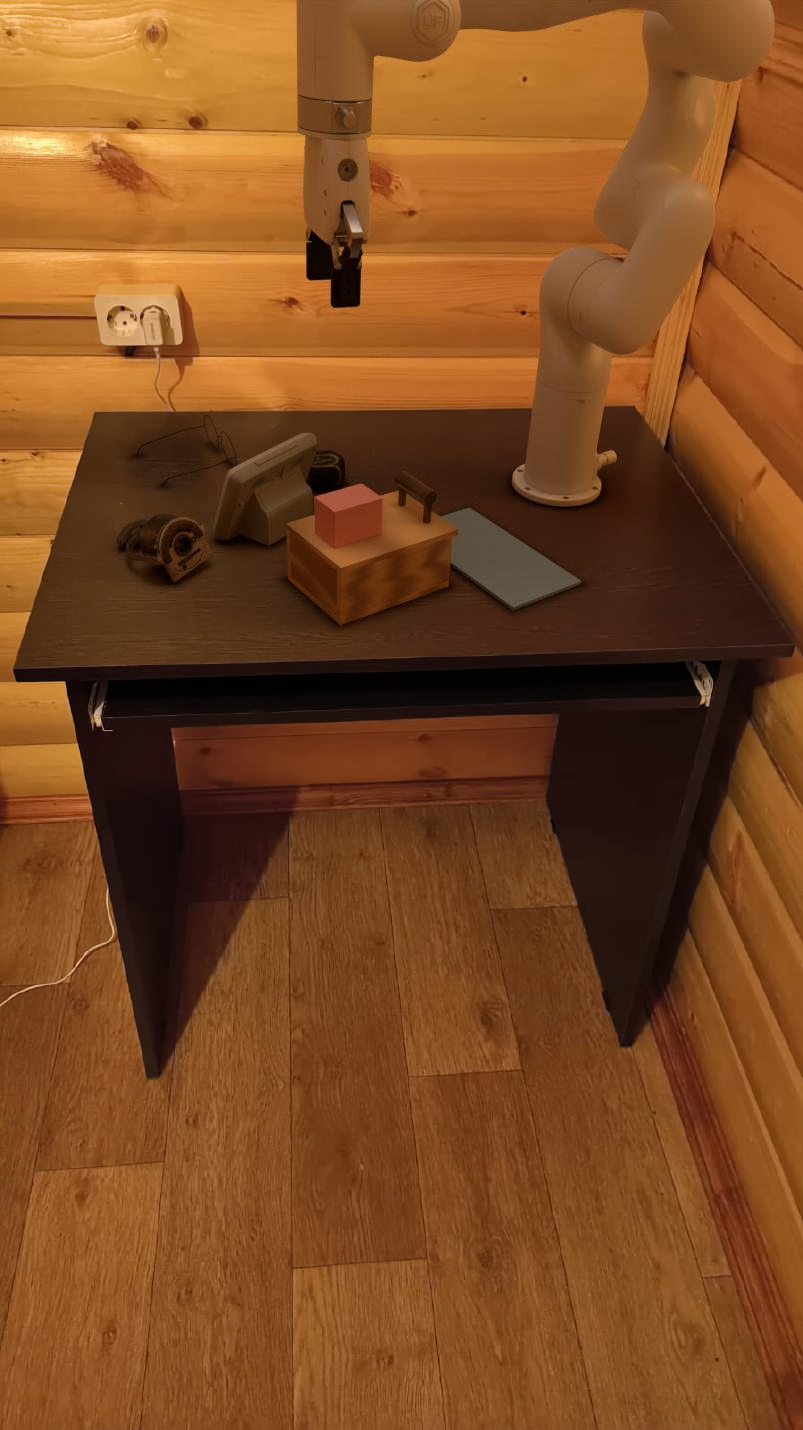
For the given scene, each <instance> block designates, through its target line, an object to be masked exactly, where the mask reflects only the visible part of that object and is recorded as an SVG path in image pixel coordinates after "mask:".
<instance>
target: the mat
mask: <svg viewBox="0 0 803 1430" xmlns="http://www.w3.org/2000/svg"><path fill="white" fill-rule="evenodd" d="M440 517H441V518H443V519H444V520H446V521H447V522H449V523H450V524H452V525H453V526H455V527H456V528H458V535H456V536H453V539H452V551H451V563H450V567H452V568H453V569H454V570H456V571H458V573H460V574H461V575H463V576H464V577H466V578H467V579H468V580H470V581H471V582H472V583H474V584H475V585H476V586H478V587H479V588H481V589H482V590H483V591H484V592H487V593H488V594H489V595H490V596H491V597H493V598H494V599H496V600H497V601H499V602H500V603H501V604H503V605H504V606H506V607H507V608H509V610H511V611H512V612H513V611H516V610H519V609H521V608H524V607H526V606H529V605H531V604H534V603H537V602H539V601H542V600H544V599H547V598H550V597H552V596H554V595H557V594H560V593H562V592H565V591H567V590H571V589H572V588H575V587H577V586H580V585H582V580H581V579H579V578H578V577H576V576H575V575H574V574H571V573H570V572H569V571H567V570H566V569H564V568H563V567H561V566H560V565H558V564H556V563H555V562H554V561H552V560H551V559H549V558H548V557H546V556H544V555H543V554H541V553H540V552H538V551H536V550H535V549H533V548H532V547H531V546H529V545H527V544H526V543H524V542H523V541H521V540H520V539H518V538H517V537H515V536H514V535H512V534H510V532H508V531H506V530H505V529H503V528H501V527H500V526H498V525H497V524H496V523H494V522H493V521H491V520H489V519H488V518H486V517H485V516H484V515H482V514H480V513H479V512H477V511H476V510H475V509H472V508H471V507H467V508H463V509H459V510H457V511H453V512H450V513H448V514H443V515H441V516H440Z"/></svg>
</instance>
